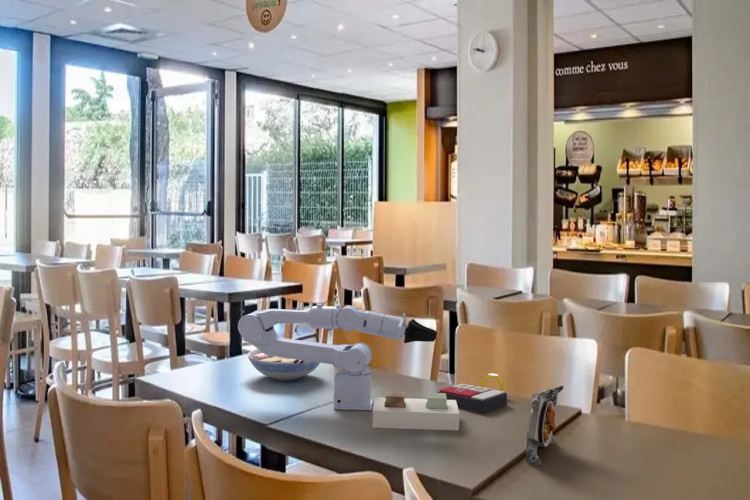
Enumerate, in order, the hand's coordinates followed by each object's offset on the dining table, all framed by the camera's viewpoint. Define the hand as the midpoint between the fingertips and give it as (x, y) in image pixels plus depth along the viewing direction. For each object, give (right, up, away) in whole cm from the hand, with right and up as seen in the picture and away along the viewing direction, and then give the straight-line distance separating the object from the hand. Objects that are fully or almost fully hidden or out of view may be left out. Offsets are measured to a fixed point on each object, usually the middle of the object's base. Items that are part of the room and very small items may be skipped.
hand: (435, 336), depth 169 cm
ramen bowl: (-42, -17, +31) cm, 55 cm away
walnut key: (-10, -16, -7) cm, 21 cm away
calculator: (+10, -19, +9) cm, 24 cm away
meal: (+21, -21, -26) cm, 40 cm away
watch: (+17, -19, +17) cm, 31 cm away
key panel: (-6, -19, -7) cm, 22 cm away
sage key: (0, -17, -8) cm, 18 cm away
